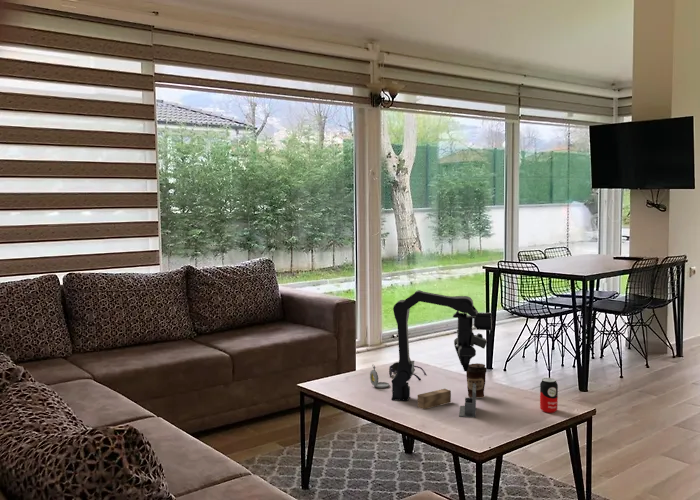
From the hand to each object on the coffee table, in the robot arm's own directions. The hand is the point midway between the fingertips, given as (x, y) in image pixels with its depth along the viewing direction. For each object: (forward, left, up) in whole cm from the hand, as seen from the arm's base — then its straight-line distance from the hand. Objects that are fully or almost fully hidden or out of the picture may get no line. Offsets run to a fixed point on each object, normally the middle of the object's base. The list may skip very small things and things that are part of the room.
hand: (464, 368), depth 267 cm
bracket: (+2, -12, -14) cm, 18 cm away
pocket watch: (-36, +16, -14) cm, 42 cm away
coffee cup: (+5, +8, -14) cm, 17 cm away
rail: (-11, -5, -14) cm, 19 cm away
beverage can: (+32, -6, -14) cm, 35 cm away
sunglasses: (-26, +35, -14) cm, 46 cm away
